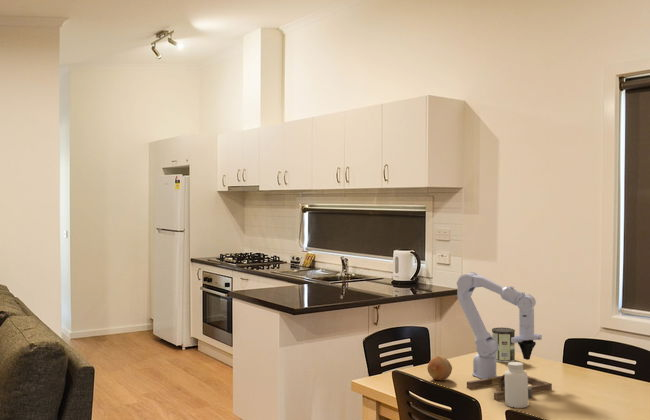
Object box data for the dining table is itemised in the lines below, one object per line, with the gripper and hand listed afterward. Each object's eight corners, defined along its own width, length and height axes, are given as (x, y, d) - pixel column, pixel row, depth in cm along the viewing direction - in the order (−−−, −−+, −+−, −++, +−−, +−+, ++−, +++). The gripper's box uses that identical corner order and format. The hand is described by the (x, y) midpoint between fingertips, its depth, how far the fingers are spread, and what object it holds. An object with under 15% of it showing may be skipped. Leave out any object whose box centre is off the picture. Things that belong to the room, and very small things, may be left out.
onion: (453, 383, 246) (452, 359, 246) (428, 383, 248) (427, 358, 247) (451, 377, 256) (450, 353, 256) (426, 376, 257) (426, 352, 257)
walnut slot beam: (466, 387, 241) (466, 381, 241) (519, 378, 253) (519, 372, 253) (496, 400, 226) (496, 393, 226) (551, 389, 238) (551, 383, 238)
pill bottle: (501, 402, 223) (500, 361, 223) (521, 400, 225) (520, 360, 225) (511, 409, 215) (511, 366, 215) (532, 407, 217) (531, 365, 217)
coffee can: (506, 356, 290) (506, 326, 290) (519, 361, 280) (519, 331, 280) (487, 357, 287) (487, 328, 287) (499, 363, 277) (499, 332, 277)
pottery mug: (531, 396, 232) (521, 378, 231) (507, 405, 234) (498, 388, 233) (525, 379, 243) (516, 362, 242) (503, 388, 246) (494, 371, 244)
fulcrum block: (523, 397, 229) (523, 388, 229) (523, 395, 231) (523, 386, 231) (531, 398, 228) (531, 389, 228) (531, 395, 231) (531, 387, 231)
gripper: (520, 328, 239) (520, 363, 239) (547, 325, 246) (547, 359, 246) (507, 325, 245) (507, 359, 246) (534, 322, 252) (534, 355, 252)
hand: (526, 359), depth 246 cm, fingers closed
